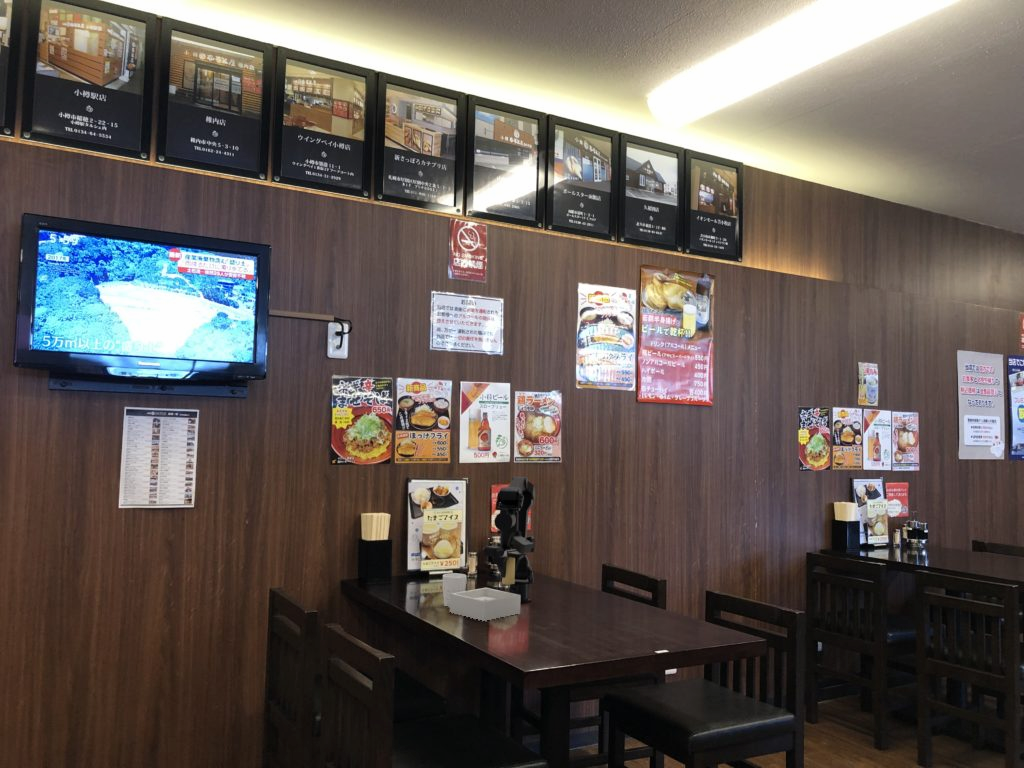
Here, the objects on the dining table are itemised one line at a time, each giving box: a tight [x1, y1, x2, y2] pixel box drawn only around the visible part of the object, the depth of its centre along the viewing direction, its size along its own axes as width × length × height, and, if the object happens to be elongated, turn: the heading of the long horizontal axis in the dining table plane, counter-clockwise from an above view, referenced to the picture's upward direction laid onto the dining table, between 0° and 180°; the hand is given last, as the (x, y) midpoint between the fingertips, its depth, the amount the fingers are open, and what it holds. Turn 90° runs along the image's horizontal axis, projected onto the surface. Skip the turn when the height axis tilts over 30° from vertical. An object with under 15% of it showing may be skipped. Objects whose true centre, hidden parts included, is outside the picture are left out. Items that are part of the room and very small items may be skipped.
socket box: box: [449, 587, 521, 622], centre depth 258 cm, size 16×16×6 cm
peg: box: [501, 557, 515, 585], centre depth 257 cm, size 4×4×8 cm
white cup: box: [442, 572, 467, 608], centre depth 268 cm, size 8×8×10 cm
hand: (508, 576), depth 257 cm, fingers closed on peg, 4 cm apart
